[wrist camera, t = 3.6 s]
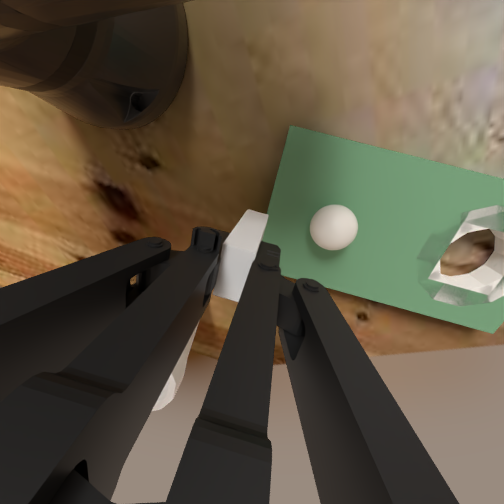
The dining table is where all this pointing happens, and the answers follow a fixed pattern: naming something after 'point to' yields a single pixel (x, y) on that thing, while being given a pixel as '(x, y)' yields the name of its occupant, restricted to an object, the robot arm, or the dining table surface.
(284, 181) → the green
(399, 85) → the dining table surface
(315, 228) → the ball
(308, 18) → the dining table surface
